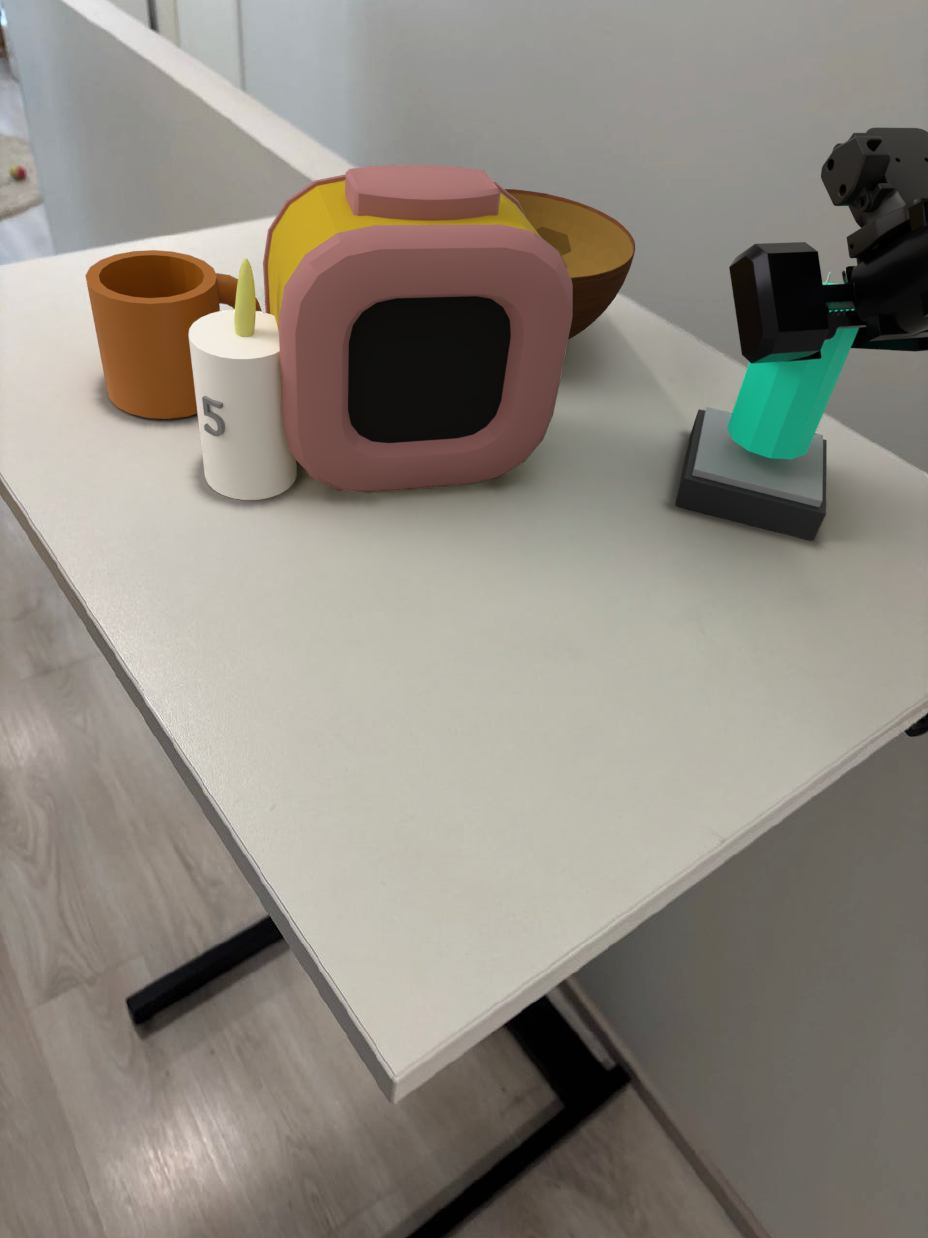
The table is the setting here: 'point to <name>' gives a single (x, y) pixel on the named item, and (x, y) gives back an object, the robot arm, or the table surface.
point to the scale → (752, 480)
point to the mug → (153, 326)
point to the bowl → (582, 250)
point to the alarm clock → (414, 327)
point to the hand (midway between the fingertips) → (791, 341)
